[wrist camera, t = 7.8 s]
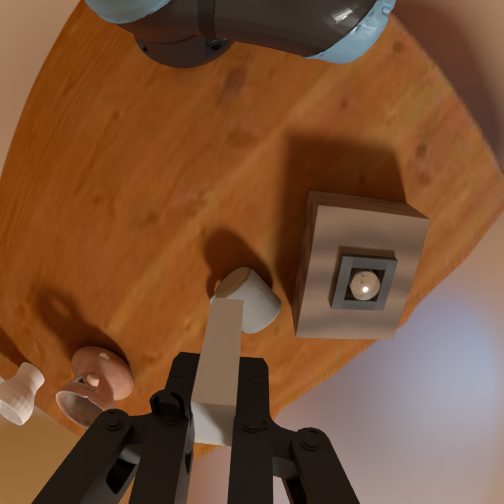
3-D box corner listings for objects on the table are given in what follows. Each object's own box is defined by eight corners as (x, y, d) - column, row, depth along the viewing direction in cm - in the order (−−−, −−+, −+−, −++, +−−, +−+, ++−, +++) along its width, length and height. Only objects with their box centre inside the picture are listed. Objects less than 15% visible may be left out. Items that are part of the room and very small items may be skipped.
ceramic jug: (83, 323, 57) (50, 371, 44) (146, 356, 59) (124, 410, 46) (74, 373, 64) (50, 416, 51) (128, 400, 66) (110, 447, 53)
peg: (340, 247, 48) (355, 273, 40) (365, 249, 48) (383, 275, 40) (336, 270, 50) (349, 299, 42) (359, 272, 50) (375, 300, 42)
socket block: (308, 190, 46) (319, 207, 38) (406, 203, 46) (433, 221, 38) (291, 307, 54) (296, 341, 46) (378, 311, 54) (394, 342, 46)
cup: (52, 391, 68) (30, 432, 54) (23, 379, 67) (-1, 416, 53) (43, 365, 63) (17, 407, 50) (13, 352, 63) (-16, 390, 49)
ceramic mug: (249, 255, 50) (247, 280, 43) (281, 291, 53) (283, 319, 46) (200, 291, 53) (191, 318, 46) (232, 323, 56) (228, 352, 49)
